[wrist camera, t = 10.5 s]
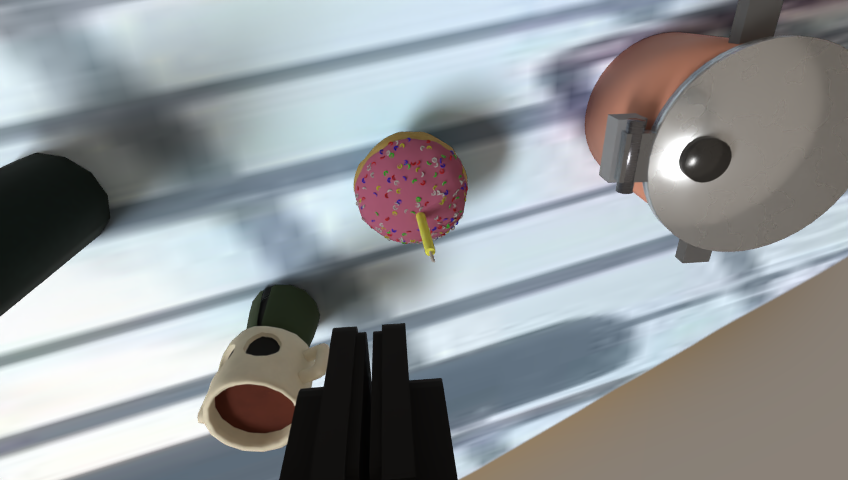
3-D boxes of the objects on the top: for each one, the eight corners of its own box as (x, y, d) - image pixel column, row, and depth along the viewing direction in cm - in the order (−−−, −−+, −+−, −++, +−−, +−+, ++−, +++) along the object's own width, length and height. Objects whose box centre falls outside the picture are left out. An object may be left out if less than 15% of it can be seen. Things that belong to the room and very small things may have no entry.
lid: (635, 39, 26) (650, 42, 24) (901, 31, 26) (933, 34, 24) (601, 248, 32) (611, 261, 30) (818, 241, 32) (839, 254, 30)
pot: (573, -10, 34) (643, -13, 25) (760, -16, 35) (895, -20, 26) (549, 217, 42) (595, 279, 33) (701, 209, 43) (787, 266, 34)
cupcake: (476, 188, 41) (509, 257, 30) (390, 234, 42) (393, 315, 31) (429, 99, 37) (447, 140, 26) (336, 152, 38) (318, 212, 28)
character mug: (319, 257, 42) (295, 354, 31) (356, 315, 46) (347, 423, 34) (214, 303, 44) (154, 412, 32) (257, 356, 47) (217, 473, 35)
